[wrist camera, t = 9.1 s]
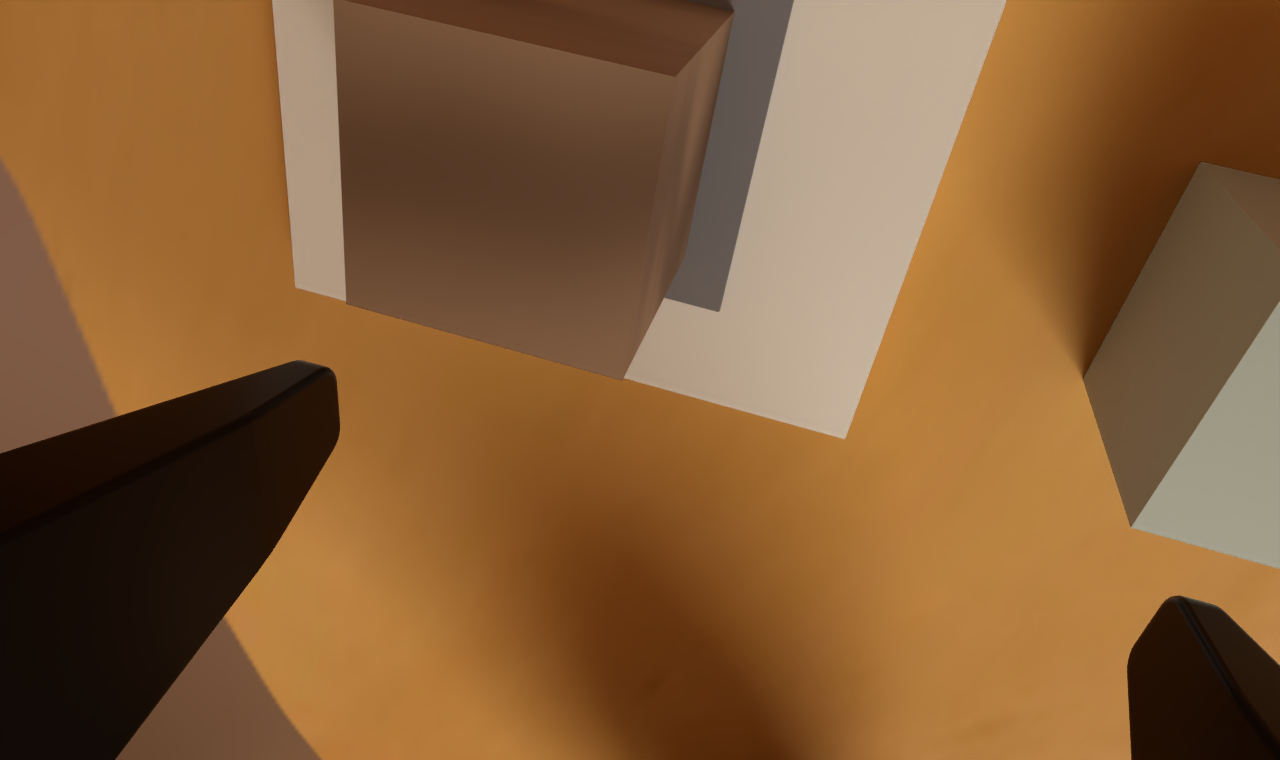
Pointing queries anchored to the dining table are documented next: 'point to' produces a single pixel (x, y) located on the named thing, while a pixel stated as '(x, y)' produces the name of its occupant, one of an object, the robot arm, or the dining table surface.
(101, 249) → the dining table surface
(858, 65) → the white flat plate
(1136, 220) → the dining table surface
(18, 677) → the robot arm
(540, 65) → the walnut block
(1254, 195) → the grey-green block
